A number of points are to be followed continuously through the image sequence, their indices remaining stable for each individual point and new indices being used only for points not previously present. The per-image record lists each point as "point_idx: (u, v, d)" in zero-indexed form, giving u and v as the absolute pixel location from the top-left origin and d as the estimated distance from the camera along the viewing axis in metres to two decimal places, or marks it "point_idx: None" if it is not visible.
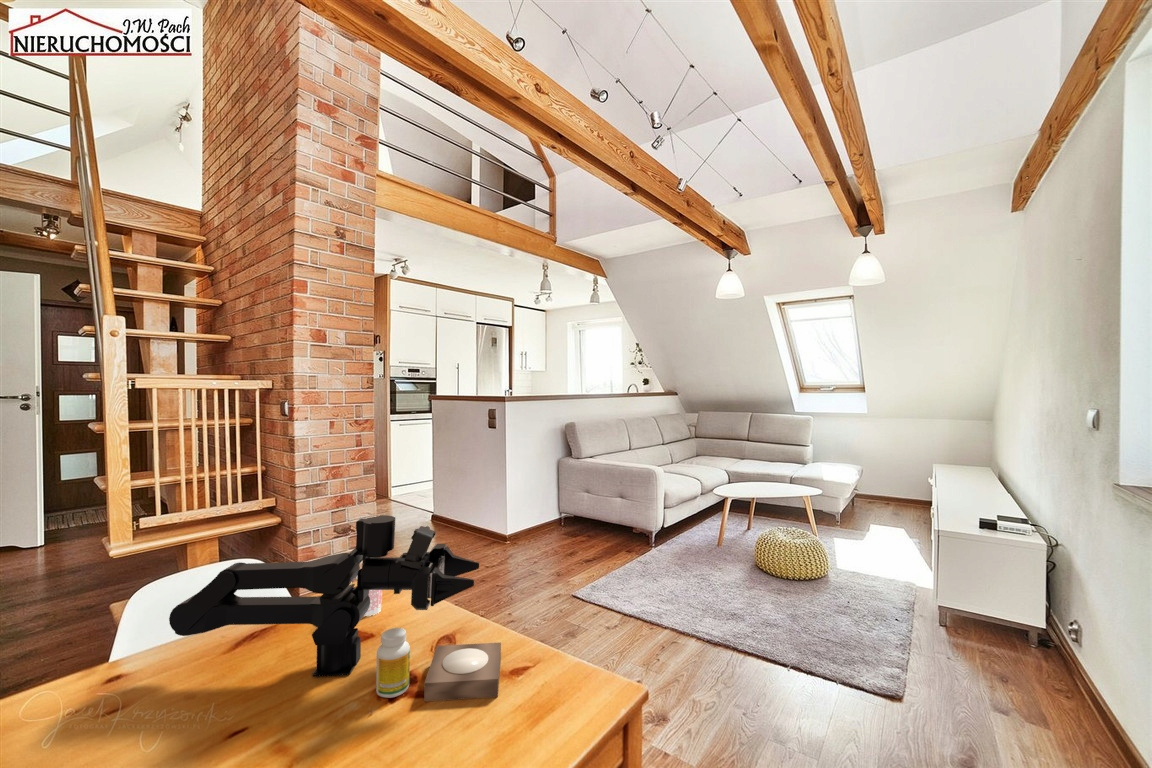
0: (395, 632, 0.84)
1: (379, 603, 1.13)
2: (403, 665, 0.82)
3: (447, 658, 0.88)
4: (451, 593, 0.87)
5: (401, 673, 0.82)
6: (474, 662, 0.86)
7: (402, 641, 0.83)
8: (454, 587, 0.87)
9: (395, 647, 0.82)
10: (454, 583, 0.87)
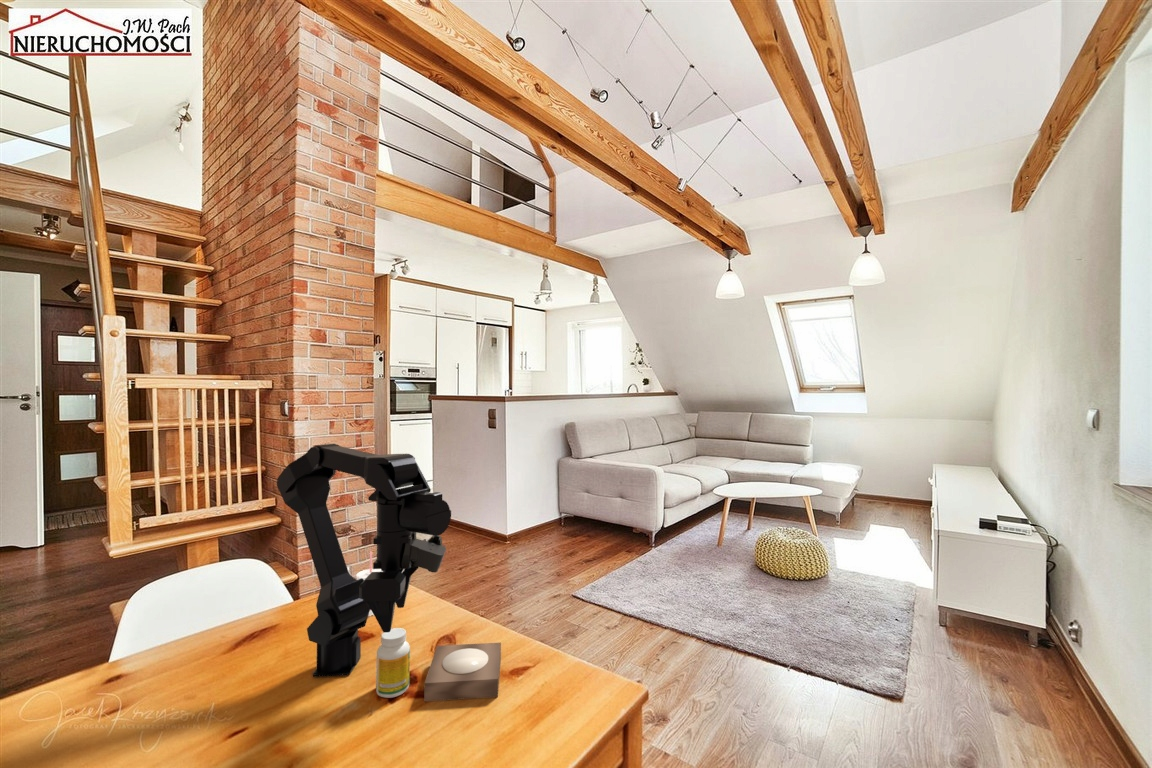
0: (395, 632, 0.84)
1: None
2: (403, 665, 0.82)
3: (447, 658, 0.88)
4: (375, 612, 0.78)
5: (401, 673, 0.82)
6: (474, 662, 0.86)
7: (402, 641, 0.83)
8: (382, 614, 0.78)
9: (395, 647, 0.82)
10: (386, 614, 0.78)
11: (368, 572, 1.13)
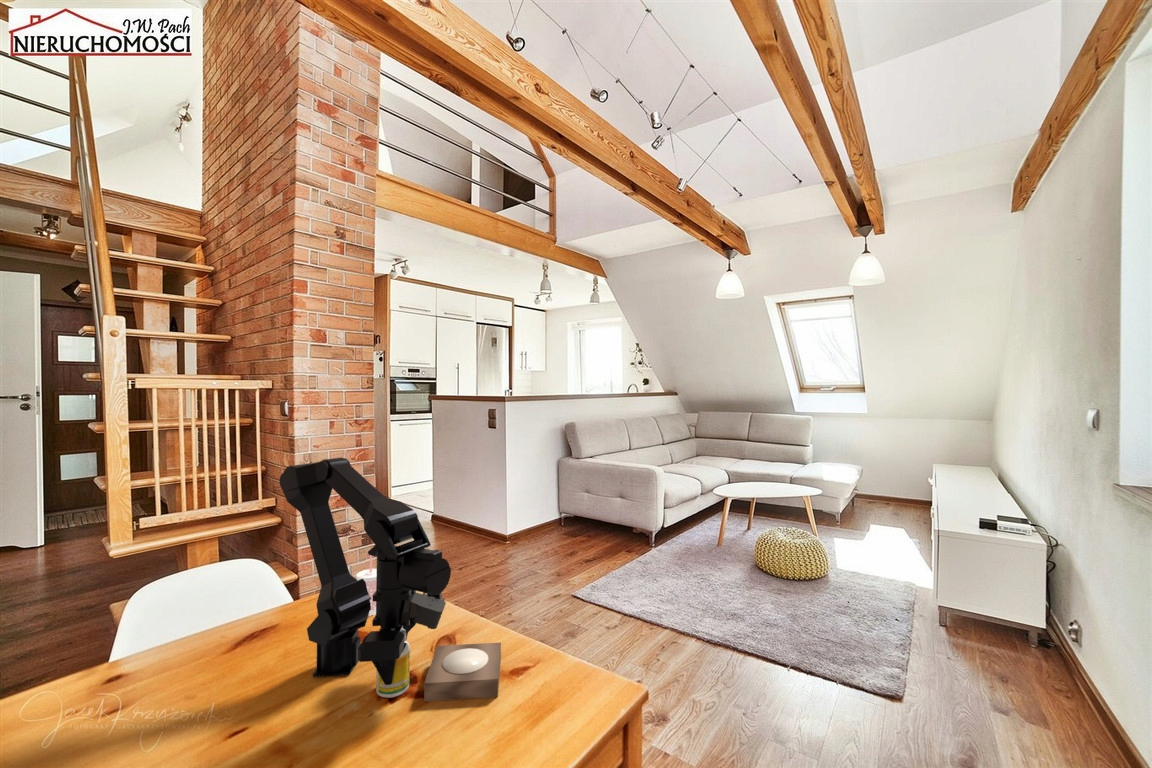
0: None
1: None
2: (403, 665, 0.82)
3: (447, 658, 0.88)
4: (377, 666, 0.80)
5: (402, 673, 0.82)
6: (474, 662, 0.86)
7: None
8: (384, 668, 0.80)
9: None
10: (388, 667, 0.80)
11: (368, 572, 1.13)
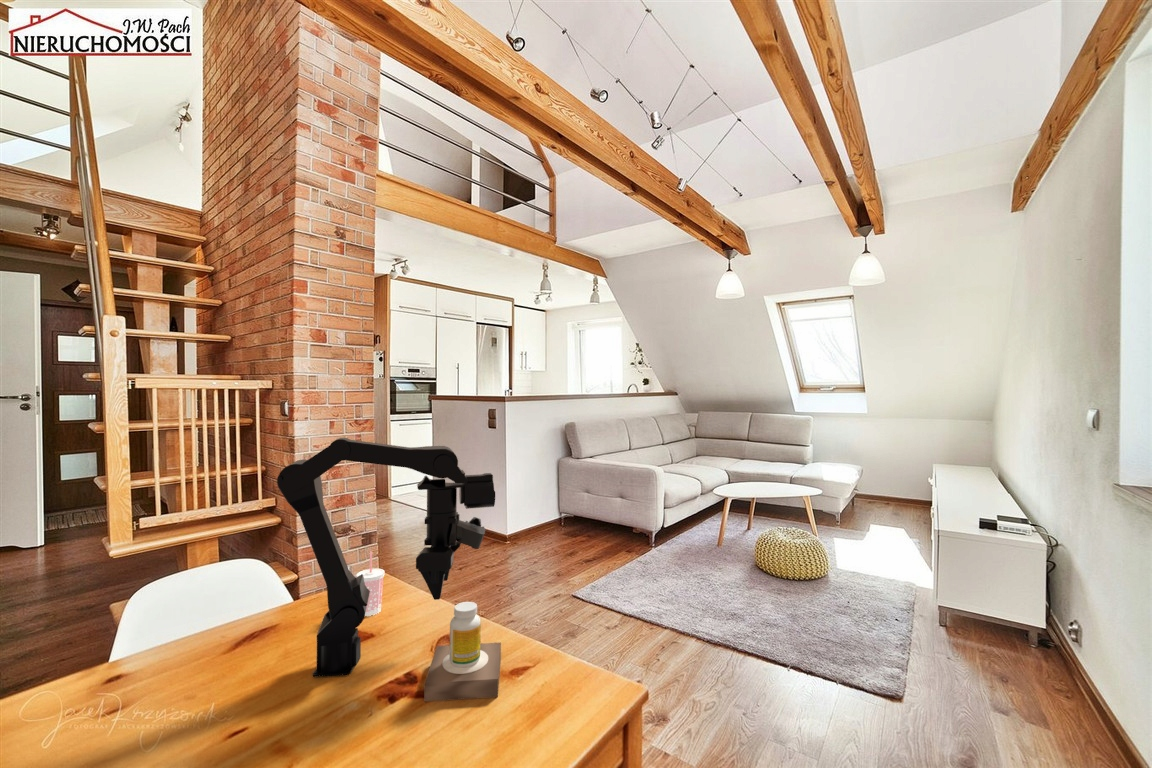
0: (467, 605, 0.88)
1: (379, 603, 1.13)
2: (476, 636, 0.86)
3: (447, 658, 0.88)
4: (428, 582, 0.91)
5: (475, 644, 0.86)
6: None
7: (474, 613, 0.86)
8: (433, 584, 0.91)
9: (468, 619, 0.86)
10: (437, 583, 0.91)
11: (368, 572, 1.13)
